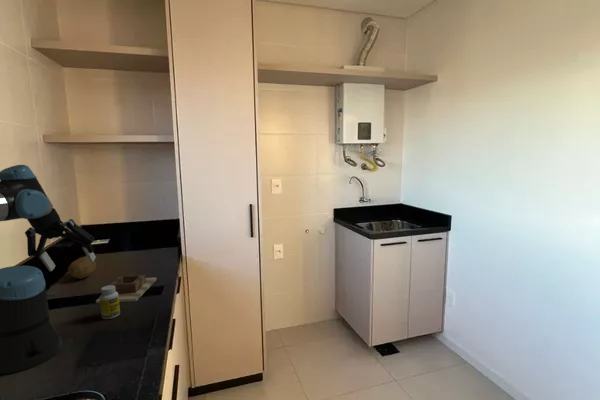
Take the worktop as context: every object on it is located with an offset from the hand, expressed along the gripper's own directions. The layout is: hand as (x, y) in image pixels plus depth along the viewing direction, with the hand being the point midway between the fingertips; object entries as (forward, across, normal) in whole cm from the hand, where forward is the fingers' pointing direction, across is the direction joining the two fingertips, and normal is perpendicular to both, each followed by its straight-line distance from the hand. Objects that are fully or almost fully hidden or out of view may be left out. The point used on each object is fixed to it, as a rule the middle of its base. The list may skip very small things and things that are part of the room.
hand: (73, 264), depth 112 cm
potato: (+23, +16, -24) cm, 36 cm away
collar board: (+20, -10, -4) cm, 23 cm away
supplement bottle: (+13, -12, +15) cm, 23 cm away
